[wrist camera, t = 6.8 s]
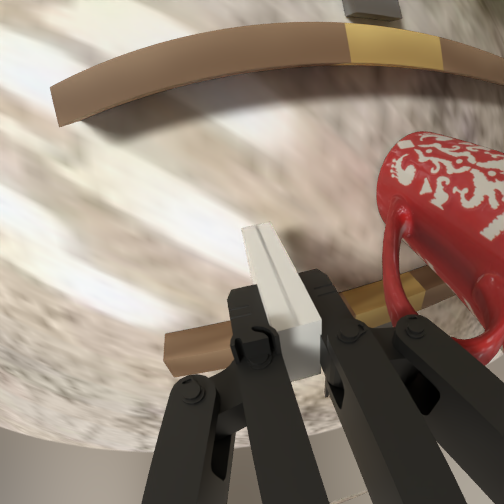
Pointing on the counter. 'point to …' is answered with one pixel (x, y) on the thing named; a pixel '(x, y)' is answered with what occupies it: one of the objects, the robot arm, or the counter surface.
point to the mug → (447, 227)
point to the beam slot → (261, 59)
